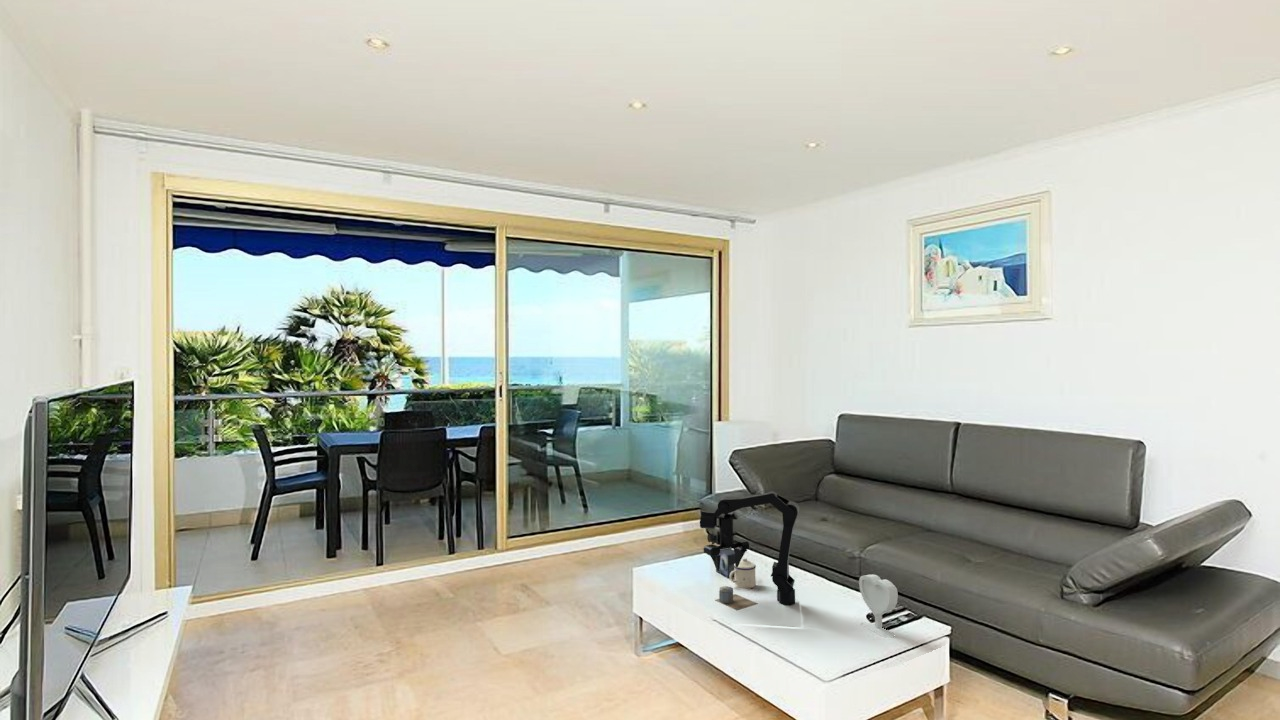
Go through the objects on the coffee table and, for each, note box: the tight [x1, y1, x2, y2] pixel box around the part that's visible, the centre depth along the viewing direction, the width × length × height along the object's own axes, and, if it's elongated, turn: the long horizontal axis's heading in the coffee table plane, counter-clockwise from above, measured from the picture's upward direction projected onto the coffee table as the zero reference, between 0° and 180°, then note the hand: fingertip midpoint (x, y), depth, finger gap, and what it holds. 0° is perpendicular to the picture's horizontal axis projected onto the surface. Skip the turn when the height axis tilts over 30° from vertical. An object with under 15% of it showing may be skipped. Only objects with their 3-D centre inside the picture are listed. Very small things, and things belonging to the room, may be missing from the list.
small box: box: [715, 549, 735, 579], centre depth 300 cm, size 11×6×10 cm, turn 25°
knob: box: [718, 585, 734, 604], centre depth 266 cm, size 5×5×5 cm
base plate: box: [714, 593, 759, 611], centre depth 265 cm, size 13×11×4 cm
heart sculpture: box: [858, 574, 899, 638], centre depth 238 cm, size 16×5×18 cm, turn 21°
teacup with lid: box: [729, 557, 757, 589], centre depth 284 cm, size 12×9×12 cm
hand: (727, 568), depth 270 cm, fingers open, 9 cm apart
